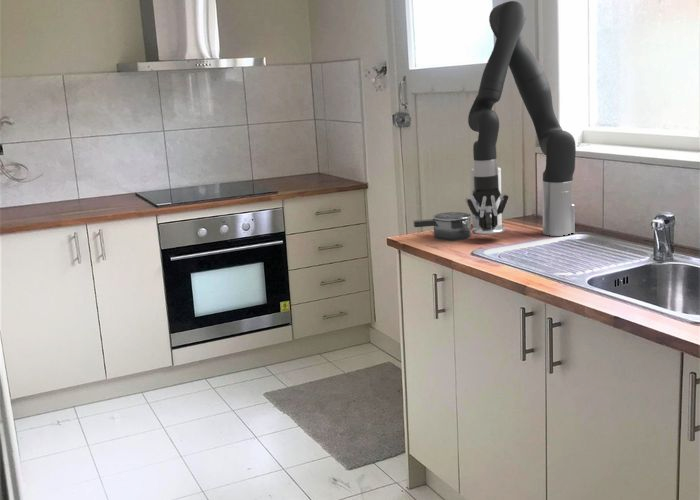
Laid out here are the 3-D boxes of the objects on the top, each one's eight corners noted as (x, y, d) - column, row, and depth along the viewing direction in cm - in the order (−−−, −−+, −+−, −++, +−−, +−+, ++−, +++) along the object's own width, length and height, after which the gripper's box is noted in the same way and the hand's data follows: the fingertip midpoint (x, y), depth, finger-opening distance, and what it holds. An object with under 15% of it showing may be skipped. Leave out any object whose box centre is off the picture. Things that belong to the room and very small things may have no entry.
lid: (500, 226, 253) (499, 208, 251) (509, 232, 242) (508, 214, 241) (468, 229, 252) (467, 211, 250) (476, 235, 242) (475, 217, 240)
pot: (466, 231, 263) (466, 211, 261) (476, 240, 249) (476, 218, 247) (411, 235, 262) (410, 215, 260) (419, 244, 248) (418, 223, 246)
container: (472, 229, 266) (470, 170, 262) (472, 223, 276) (471, 166, 271) (502, 228, 264) (501, 169, 260) (501, 222, 274) (500, 165, 269)
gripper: (504, 170, 247) (506, 223, 251) (460, 174, 246) (463, 227, 250) (511, 173, 240) (513, 227, 244) (466, 177, 239) (469, 232, 243)
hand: (488, 227), depth 247 cm, fingers closed on lid, 3 cm apart
